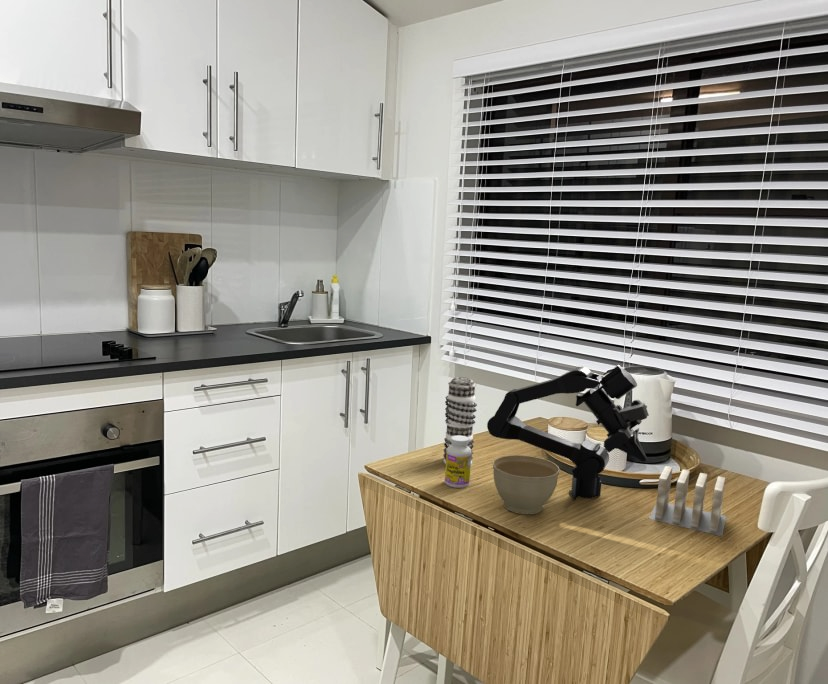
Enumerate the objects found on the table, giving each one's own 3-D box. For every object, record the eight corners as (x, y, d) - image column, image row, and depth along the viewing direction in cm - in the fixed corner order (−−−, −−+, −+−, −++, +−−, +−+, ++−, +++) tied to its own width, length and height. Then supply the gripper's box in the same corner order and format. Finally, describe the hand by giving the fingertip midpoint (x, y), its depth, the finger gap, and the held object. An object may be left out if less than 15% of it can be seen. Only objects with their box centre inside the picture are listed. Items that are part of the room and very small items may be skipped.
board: (648, 522, 156) (648, 518, 156) (657, 504, 168) (657, 500, 168) (721, 540, 149) (722, 535, 149) (725, 519, 160) (726, 515, 160)
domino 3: (690, 526, 153) (695, 485, 152) (695, 511, 162) (700, 472, 160) (698, 527, 152) (703, 487, 151) (702, 512, 161) (707, 474, 159)
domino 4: (709, 530, 151) (714, 489, 150) (713, 515, 160) (718, 476, 158) (716, 532, 151) (722, 490, 149) (720, 516, 159) (725, 477, 158)
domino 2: (672, 521, 155) (677, 481, 153) (678, 507, 164) (682, 469, 162) (679, 523, 154) (684, 483, 153) (685, 508, 163) (689, 470, 161)
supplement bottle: (441, 486, 174) (443, 439, 172) (449, 477, 180) (451, 432, 178) (465, 490, 171) (467, 443, 169) (472, 482, 177) (475, 436, 175)
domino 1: (654, 517, 157) (659, 478, 155) (661, 503, 166) (665, 465, 164) (661, 519, 156) (666, 479, 155) (668, 505, 165) (672, 467, 163)
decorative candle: (435, 460, 193) (439, 377, 189) (459, 454, 199) (464, 374, 195) (455, 469, 186) (460, 383, 182) (479, 464, 192) (484, 380, 188)
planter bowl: (568, 509, 162) (572, 467, 161) (530, 527, 151) (533, 482, 149) (516, 489, 174) (519, 450, 172) (476, 505, 162) (479, 463, 161)
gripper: (622, 398, 153) (667, 453, 150) (636, 384, 169) (677, 433, 166) (585, 425, 158) (628, 478, 155) (603, 408, 174) (641, 456, 171)
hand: (645, 460), depth 162 cm, fingers closed
